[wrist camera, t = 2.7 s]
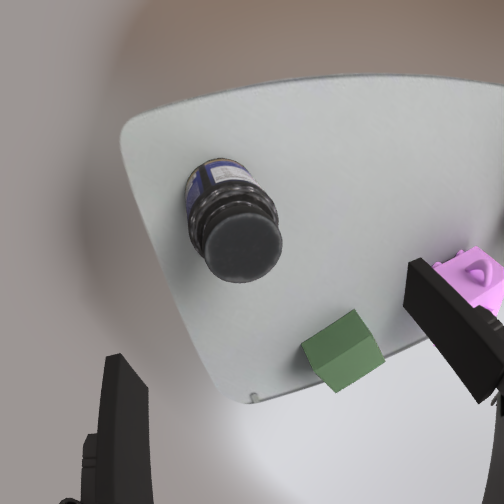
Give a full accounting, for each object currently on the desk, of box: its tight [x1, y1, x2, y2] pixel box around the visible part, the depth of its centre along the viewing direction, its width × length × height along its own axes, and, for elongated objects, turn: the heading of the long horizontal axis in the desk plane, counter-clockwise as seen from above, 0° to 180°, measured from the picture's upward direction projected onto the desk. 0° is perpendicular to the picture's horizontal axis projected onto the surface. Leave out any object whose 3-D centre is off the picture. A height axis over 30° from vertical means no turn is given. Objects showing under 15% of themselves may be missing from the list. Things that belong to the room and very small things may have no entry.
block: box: [301, 309, 385, 393], centre depth 40 cm, size 8×8×5 cm
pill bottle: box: [185, 158, 282, 283], centre depth 23 cm, size 6×6×11 cm
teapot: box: [432, 246, 504, 346], centre depth 37 cm, size 15×13×11 cm
